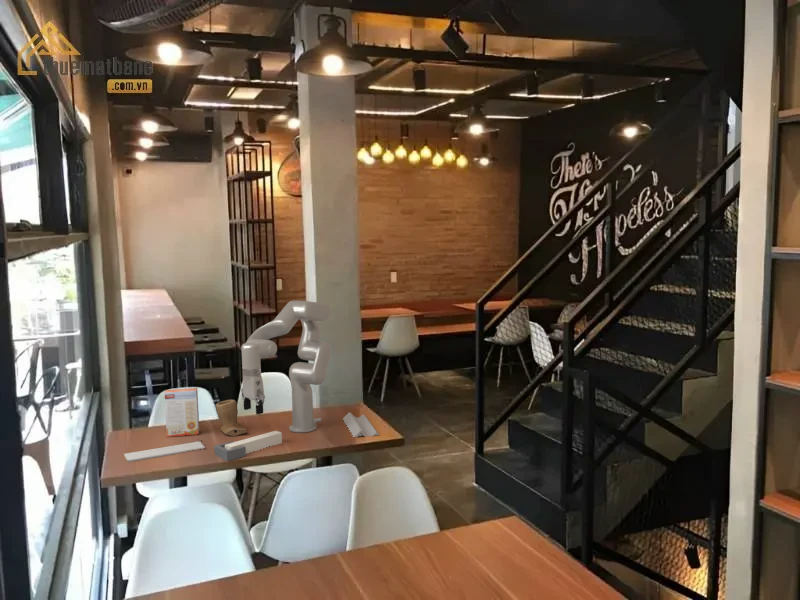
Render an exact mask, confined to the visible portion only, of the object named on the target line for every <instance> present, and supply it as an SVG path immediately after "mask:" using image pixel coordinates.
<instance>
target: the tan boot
mask: <svg viewBox="0 0 800 600" xmlns="http://www.w3.org/2000/svg"><path fill="white" fill-rule="evenodd" d="M215 410H216V413H217V416H218V419H219V420H220V422H221V425H222V426H220V431H221V432H222V433H224V434H225V435H227V436H232V437H235V436H240V435H243V434H245V433H247V429H246V427H244V426H243V425H242V424H241V423H238V413H239V410H238V404H237V401H236V400H235V399H226V400H223V401H219V402H217V403H216V404H215Z"/></svg>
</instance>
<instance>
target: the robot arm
mask: <svg viewBox="0 0 800 600" xmlns="http://www.w3.org/2000/svg"><path fill="white" fill-rule="evenodd" d="M331 313H332V310H331V307H330V305H329V304H327V303H326V302H316V301H309V300H296V299H295V300H290V301H289V302H287V303H286V305H284V307H283V308H282V309H281V311H279V313H278V314H277V316H276V317H275V318H274V319H272V320H271V321H269V322H267V323H266V324H264V325H261V326H260V327H258V328H257V329H255V330H254V331H253V333H252V334H251V335H250V336H249V337H248V339H247V340H246V341H245V343H242V345H241V365H242V367H241V369H242V388H241V389H240V392H241V396H242V401H243V410H244V411H246V410H251V409H252V403H251V402H252V401H254V403H255V414H256V415H261V414H264V405H265V404H264V402H265V399H266V396H265V391H264V389H265V388H264V382H263V376H262V369H261V368H262V366H261V364H262V363H261V359H267V358H272V357H273V356H275V355H276V354H277V352H278V351H277V350H278V345H277V344H276V342H274V341H273V340H270V339H273V338H276V337H281V336H284V335H286V334H288V333H290V331H291V330H292V329H293V327H294V326H295V325H296V323H297V322H298V321H299V320H300V322H301V325H302V332H301V336H300V340H299V344H298V347H297V348H298V349H297V356H298V358H299V359H301V360H304V361H309V362H303V361H302V362H301V361H298V362H294V363H292V364H291V366H290V367H289V371H288V377H289V380H290V385H291V408H292V409H291V411H292V418H291V419H292V424H290V425H289V428H288V429H289V431H290V432H293V433H300V434H301V433H310V432H313V431H316V430H317V423H320V422H322V418H321V417H317V418H316V417H314V412H313V411H314V409H313V407H314V406H313V405H314V404H313V401H314V400H313V390H312V386H311V385H314V386H315V385H316V386H317V385H321V384H322V383H324V381H325V378H326V376H327V375H326V374H327V373H328V368H329V363H330V360H331V354H332V352H331V346H330V345H329V343H327V342H325V341H323V340H320V336H321V327H320V324H319V322H326V321H328V319H330V317H331ZM310 361H311V362H313V363H310Z"/></svg>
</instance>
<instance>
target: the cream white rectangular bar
mask: <svg viewBox="0 0 800 600" xmlns="http://www.w3.org/2000/svg"><path fill="white" fill-rule="evenodd" d="M282 443H283V433H282V432H281V431H279V430H278V431H277V430H274V431H270V432H269V431H268V432H265V433H262V434H259V435H258V434H257V435H254V436H252V437H251V436H250V437H247V438H244V439H241V440H238V441H233V443H230V444H226V445H225V449H228V450H230V449H234V448H238V447H242V446H245V447H246V455H247V454H250V452H251V453H253V451H254V452H257V451H261V450H263V448H264V449H267V448H270V447H273V445H274V446H276V445H280V444H282ZM269 446H270V447H269ZM266 447H267V448H266ZM260 449H261V450H260Z"/></svg>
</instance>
